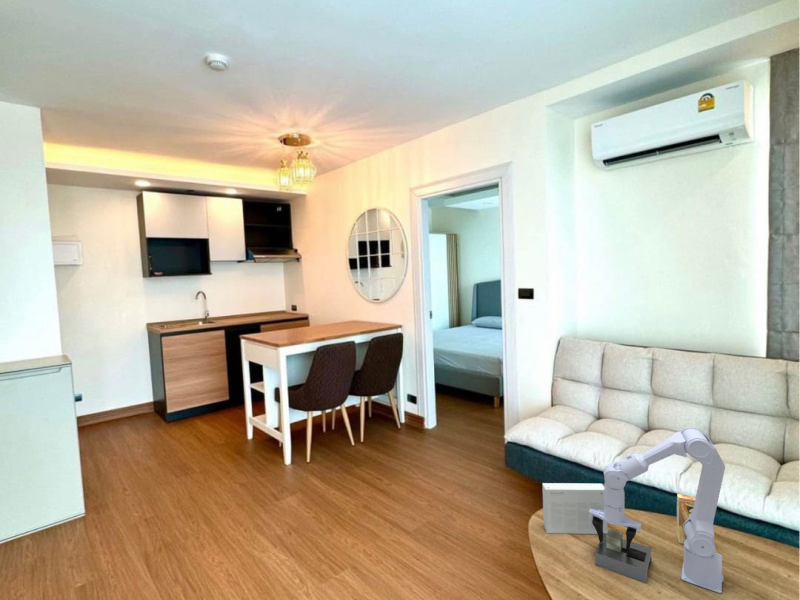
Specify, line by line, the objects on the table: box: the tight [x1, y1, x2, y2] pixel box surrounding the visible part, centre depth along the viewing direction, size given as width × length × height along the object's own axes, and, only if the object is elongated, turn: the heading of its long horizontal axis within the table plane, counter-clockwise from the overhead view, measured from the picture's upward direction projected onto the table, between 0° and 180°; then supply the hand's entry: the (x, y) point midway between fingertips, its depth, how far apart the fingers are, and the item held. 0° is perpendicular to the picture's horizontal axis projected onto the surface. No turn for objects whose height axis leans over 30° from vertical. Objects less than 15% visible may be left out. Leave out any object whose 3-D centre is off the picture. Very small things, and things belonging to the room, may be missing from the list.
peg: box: [606, 528, 624, 552], centre depth 133 cm, size 4×4×7 cm
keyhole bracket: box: [594, 533, 653, 584], centre depth 131 cm, size 14×12×4 cm
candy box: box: [676, 493, 696, 545], centre depth 139 cm, size 9×4×15 cm, turn 67°
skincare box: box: [542, 482, 609, 535], centre depth 149 cm, size 21×6×16 cm, turn 84°
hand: (614, 545), depth 133 cm, fingers open, 7 cm apart
